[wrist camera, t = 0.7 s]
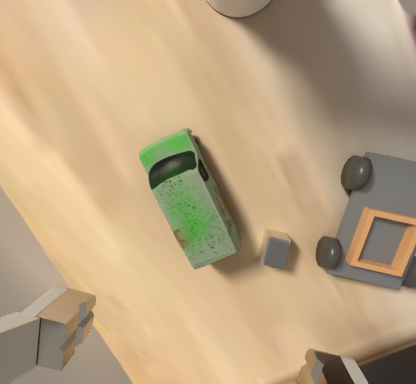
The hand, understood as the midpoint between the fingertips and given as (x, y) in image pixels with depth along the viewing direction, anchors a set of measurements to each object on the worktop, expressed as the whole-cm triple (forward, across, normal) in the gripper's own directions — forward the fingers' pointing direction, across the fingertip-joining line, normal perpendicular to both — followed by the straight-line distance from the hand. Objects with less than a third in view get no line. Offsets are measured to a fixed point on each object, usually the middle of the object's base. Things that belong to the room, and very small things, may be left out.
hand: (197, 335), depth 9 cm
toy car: (+41, +5, +4) cm, 42 cm away
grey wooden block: (+41, -13, +11) cm, 45 cm away
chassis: (+41, -31, +1) cm, 51 cm away
